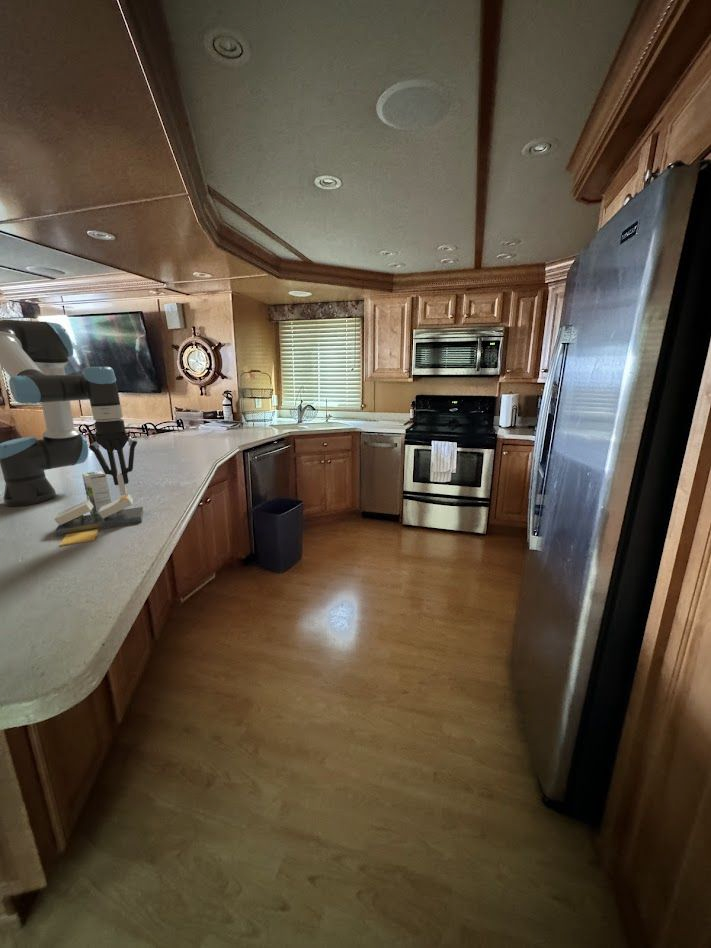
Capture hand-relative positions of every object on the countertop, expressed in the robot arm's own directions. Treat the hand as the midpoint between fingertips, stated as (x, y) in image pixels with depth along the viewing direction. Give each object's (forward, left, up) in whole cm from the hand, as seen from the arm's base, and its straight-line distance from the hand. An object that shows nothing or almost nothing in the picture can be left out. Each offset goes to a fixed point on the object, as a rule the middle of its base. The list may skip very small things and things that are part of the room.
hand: (123, 493), depth 119 cm
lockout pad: (+9, -12, -9) cm, 17 cm away
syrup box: (-10, -9, -9) cm, 16 cm away
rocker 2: (0, -2, -5) cm, 6 cm away
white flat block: (0, -13, -5) cm, 14 cm away
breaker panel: (0, -7, -9) cm, 11 cm away
